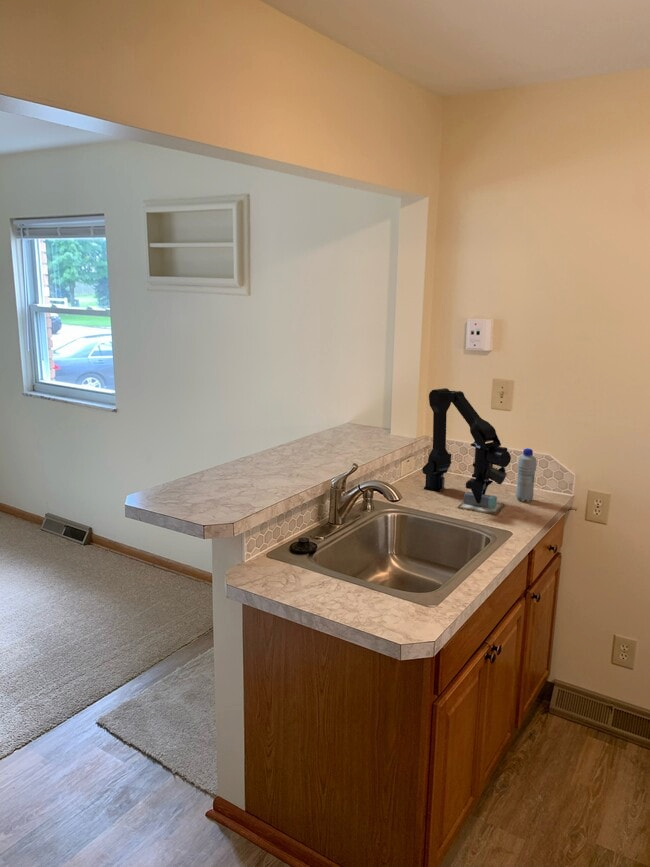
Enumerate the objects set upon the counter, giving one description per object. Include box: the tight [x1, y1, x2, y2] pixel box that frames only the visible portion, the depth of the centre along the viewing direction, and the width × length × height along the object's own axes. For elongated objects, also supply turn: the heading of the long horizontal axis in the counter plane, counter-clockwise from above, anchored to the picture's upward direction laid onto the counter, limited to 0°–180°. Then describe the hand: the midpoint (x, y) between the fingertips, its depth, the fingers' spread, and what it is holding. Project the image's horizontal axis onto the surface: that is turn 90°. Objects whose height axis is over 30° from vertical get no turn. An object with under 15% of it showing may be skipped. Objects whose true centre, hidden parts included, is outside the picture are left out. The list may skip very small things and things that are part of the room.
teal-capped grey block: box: [463, 491, 498, 508], centre depth 242 cm, size 11×4×4 cm, turn 61°
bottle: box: [515, 448, 537, 503], centre depth 247 cm, size 7×7×20 cm
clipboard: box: [457, 500, 506, 516], centre depth 243 cm, size 14×12×1 cm
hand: (479, 501), depth 242 cm, fingers closed on teal-capped grey block, 3 cm apart
